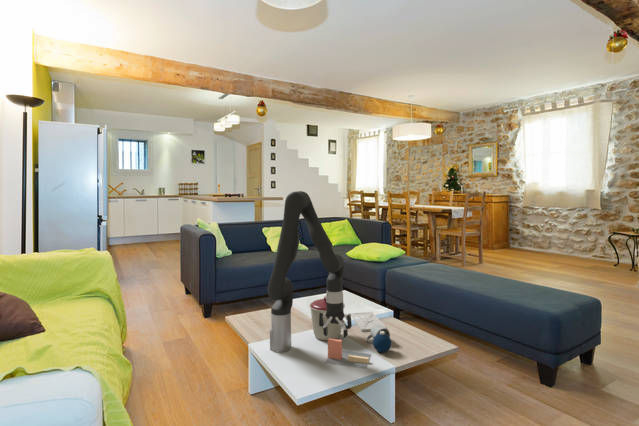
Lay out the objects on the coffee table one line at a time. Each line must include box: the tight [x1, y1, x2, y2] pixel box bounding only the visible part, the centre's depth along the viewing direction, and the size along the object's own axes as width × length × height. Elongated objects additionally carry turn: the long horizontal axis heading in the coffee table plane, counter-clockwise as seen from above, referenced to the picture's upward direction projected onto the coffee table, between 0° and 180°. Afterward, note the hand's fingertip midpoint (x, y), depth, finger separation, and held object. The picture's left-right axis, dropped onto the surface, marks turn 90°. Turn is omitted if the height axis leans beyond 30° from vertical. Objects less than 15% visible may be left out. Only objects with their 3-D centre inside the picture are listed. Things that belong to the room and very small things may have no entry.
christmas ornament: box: [372, 331, 392, 353], centre depth 169 cm, size 8×8×10 cm
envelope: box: [349, 311, 388, 333], centre depth 206 cm, size 24×2×14 cm
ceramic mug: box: [365, 325, 391, 344], centre depth 180 cm, size 11×8×8 cm
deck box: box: [327, 338, 343, 359], centre depth 162 cm, size 6×2×8 cm, turn 73°
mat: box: [324, 349, 373, 370], centre depth 162 cm, size 18×14×2 cm
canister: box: [308, 295, 346, 342], centre depth 186 cm, size 18×18×21 cm
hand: (335, 336), depth 162 cm, fingers open, 8 cm apart
